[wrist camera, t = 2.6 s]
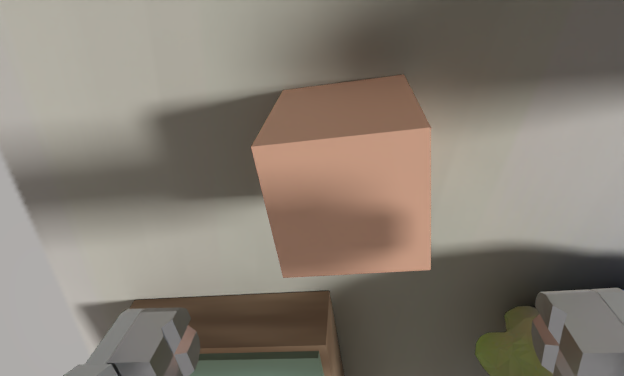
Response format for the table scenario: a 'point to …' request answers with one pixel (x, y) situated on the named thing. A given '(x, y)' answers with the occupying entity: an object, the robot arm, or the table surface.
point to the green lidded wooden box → (261, 333)
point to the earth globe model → (511, 347)
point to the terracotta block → (347, 178)
